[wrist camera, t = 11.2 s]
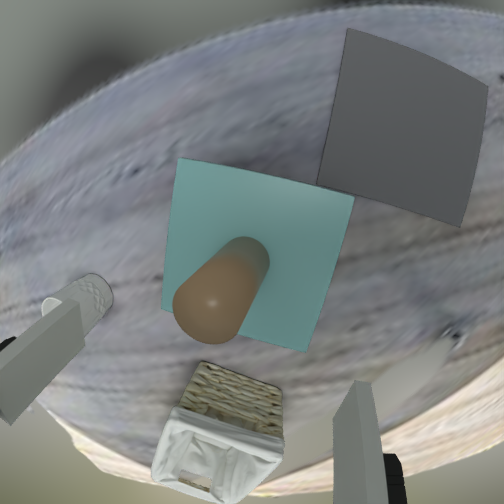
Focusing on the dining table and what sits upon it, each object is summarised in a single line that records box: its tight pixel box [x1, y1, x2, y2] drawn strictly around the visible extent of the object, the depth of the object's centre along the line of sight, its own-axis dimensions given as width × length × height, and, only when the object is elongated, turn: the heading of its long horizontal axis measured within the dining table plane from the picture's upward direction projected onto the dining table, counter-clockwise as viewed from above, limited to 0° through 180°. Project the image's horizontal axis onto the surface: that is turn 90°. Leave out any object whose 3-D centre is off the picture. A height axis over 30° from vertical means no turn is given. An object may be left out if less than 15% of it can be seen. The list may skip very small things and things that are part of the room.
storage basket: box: [151, 362, 285, 504], centre depth 42 cm, size 24×16×15 cm
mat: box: [316, 28, 488, 228], centre depth 30 cm, size 20×20×1 cm
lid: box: [161, 158, 355, 353], centre depth 21 cm, size 14×14×10 cm
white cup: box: [42, 274, 113, 338], centre depth 40 cm, size 8×8×10 cm
